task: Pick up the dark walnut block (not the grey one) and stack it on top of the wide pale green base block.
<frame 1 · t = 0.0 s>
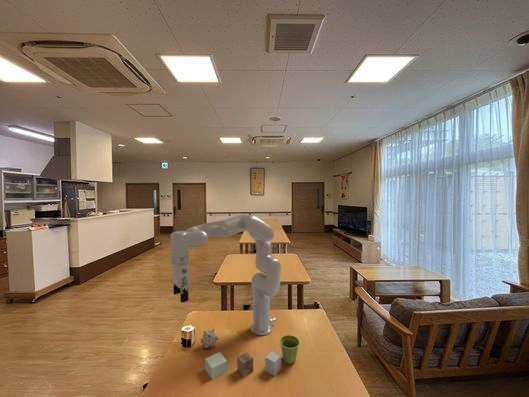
hand: (180, 297, 103), 31 cm above the table, fingers open, 9 cm apart
grey spiky ball: (209, 347, 116), on the table
base block: (216, 370, 101), on the table
plant pot: (289, 359, 108), on the table
walnut block: (245, 370, 101), on the table
grey block: (273, 369, 102), on the table
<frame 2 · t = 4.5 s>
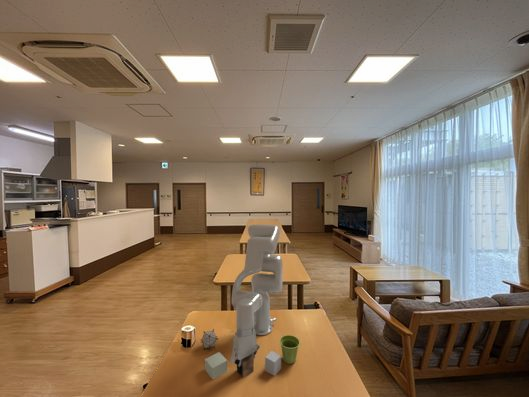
hand: (245, 369, 101), 1 cm above the table, fingers closed on walnut block, 5 cm apart
walnut block: (245, 370, 101), on the table, touching gripper
everything else where it was.
when the fingers open (6 cm above the table, at t = 9.4 s): walnut block stays where it is, resting on base block.
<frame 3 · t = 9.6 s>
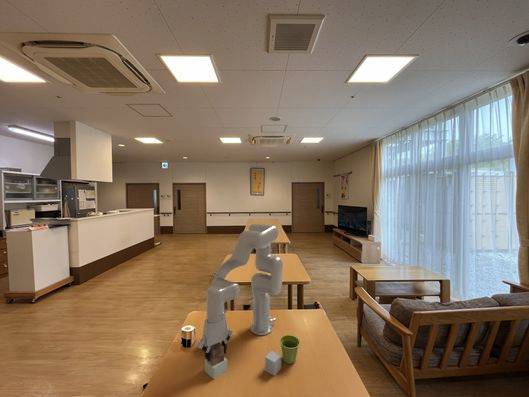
hand: (216, 355, 101), 7 cm above the table, fingers open, 7 cm apart
base block: (216, 370, 101), on the table, touching walnut block
walnut block: (216, 359, 101), point 5 cm above the table, touching base block
everything else where it was.
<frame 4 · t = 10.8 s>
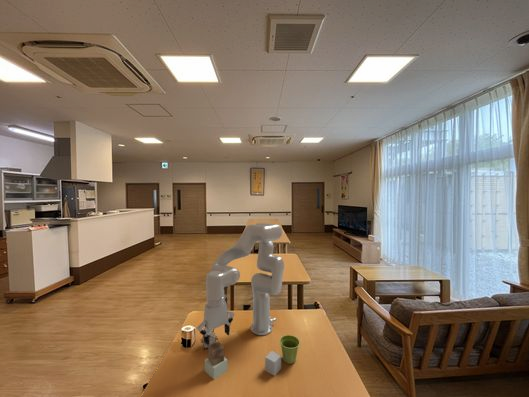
hand: (217, 338, 101), 14 cm above the table, fingers open, 9 cm apart
base block: (216, 370, 101), on the table
walnut block: (216, 359, 101), point 5 cm above the table
everything else where it was.
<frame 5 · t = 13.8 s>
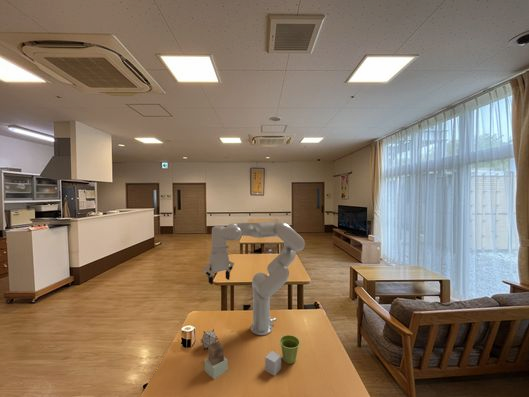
hand: (219, 281, 123), 30 cm above the table, fingers open, 9 cm apart
base block: (216, 370, 101), on the table, touching walnut block
walnut block: (216, 359, 101), point 5 cm above the table, touching base block
everything else where it was.
at the end: walnut block inside the target area on the base block (0.0 cm from its centre), point 5.0 cm above the base block's base; walnut block tilted 0°; the gripper is holding nothing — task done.
